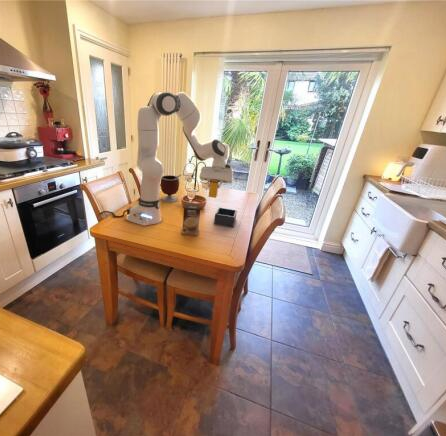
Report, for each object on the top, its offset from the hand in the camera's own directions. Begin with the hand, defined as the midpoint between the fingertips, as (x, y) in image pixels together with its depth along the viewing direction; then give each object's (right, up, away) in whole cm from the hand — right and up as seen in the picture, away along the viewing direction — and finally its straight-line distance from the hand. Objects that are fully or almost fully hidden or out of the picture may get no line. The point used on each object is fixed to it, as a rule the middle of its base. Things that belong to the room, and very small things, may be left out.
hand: (213, 187), depth 140 cm
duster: (0, -5, +3) cm, 6 cm away
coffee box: (-14, -27, -7) cm, 31 cm away
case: (+8, -21, +7) cm, 23 cm away
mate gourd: (-27, -4, +40) cm, 49 cm away
